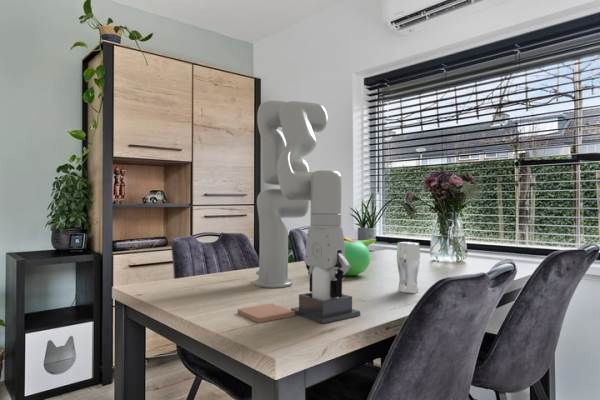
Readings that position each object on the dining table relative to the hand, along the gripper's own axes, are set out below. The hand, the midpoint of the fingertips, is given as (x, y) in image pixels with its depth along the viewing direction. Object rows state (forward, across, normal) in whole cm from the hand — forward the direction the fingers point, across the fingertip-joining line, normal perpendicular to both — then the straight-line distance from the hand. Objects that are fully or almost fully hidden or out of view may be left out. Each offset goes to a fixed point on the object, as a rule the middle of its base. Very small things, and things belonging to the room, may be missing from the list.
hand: (325, 293), depth 101 cm
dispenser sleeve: (+5, 0, 0) cm, 5 cm away
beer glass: (+5, -5, +38) cm, 39 cm away
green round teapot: (+5, -37, +43) cm, 57 cm away
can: (+5, 0, 0) cm, 5 cm away
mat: (+5, -8, -12) cm, 15 cm away
